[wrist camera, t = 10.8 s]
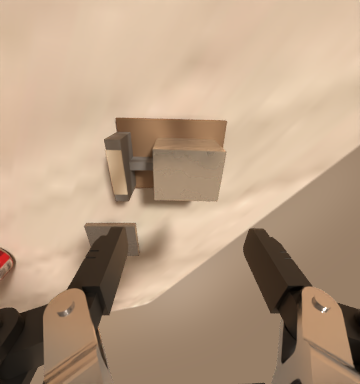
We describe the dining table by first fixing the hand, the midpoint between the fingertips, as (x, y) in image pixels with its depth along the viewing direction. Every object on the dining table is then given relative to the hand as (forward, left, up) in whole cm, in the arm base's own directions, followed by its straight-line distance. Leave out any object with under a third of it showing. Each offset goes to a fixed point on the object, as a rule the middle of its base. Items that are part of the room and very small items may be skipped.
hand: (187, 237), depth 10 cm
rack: (-1, +1, -14) cm, 14 cm away
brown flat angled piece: (-11, -14, -14) cm, 23 cm away
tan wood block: (+1, +1, -13) cm, 13 cm away
